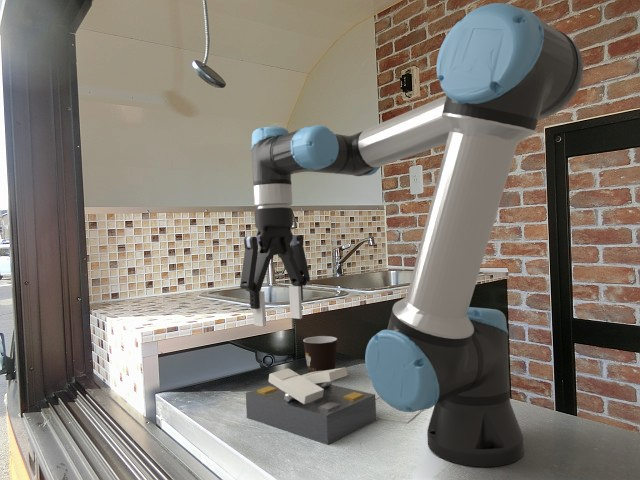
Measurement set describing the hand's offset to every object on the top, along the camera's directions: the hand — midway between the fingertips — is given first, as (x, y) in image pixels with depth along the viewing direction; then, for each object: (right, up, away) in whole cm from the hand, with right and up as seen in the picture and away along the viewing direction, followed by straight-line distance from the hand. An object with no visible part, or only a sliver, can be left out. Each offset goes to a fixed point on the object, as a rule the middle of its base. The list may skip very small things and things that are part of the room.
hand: (278, 321), depth 98 cm
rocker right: (+8, -12, +2) cm, 14 cm away
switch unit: (+6, -19, 0) cm, 20 cm away
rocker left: (+3, -12, -3) cm, 13 cm away
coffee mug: (+9, -19, +29) cm, 36 cm away
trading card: (+25, -19, +7) cm, 32 cm away
